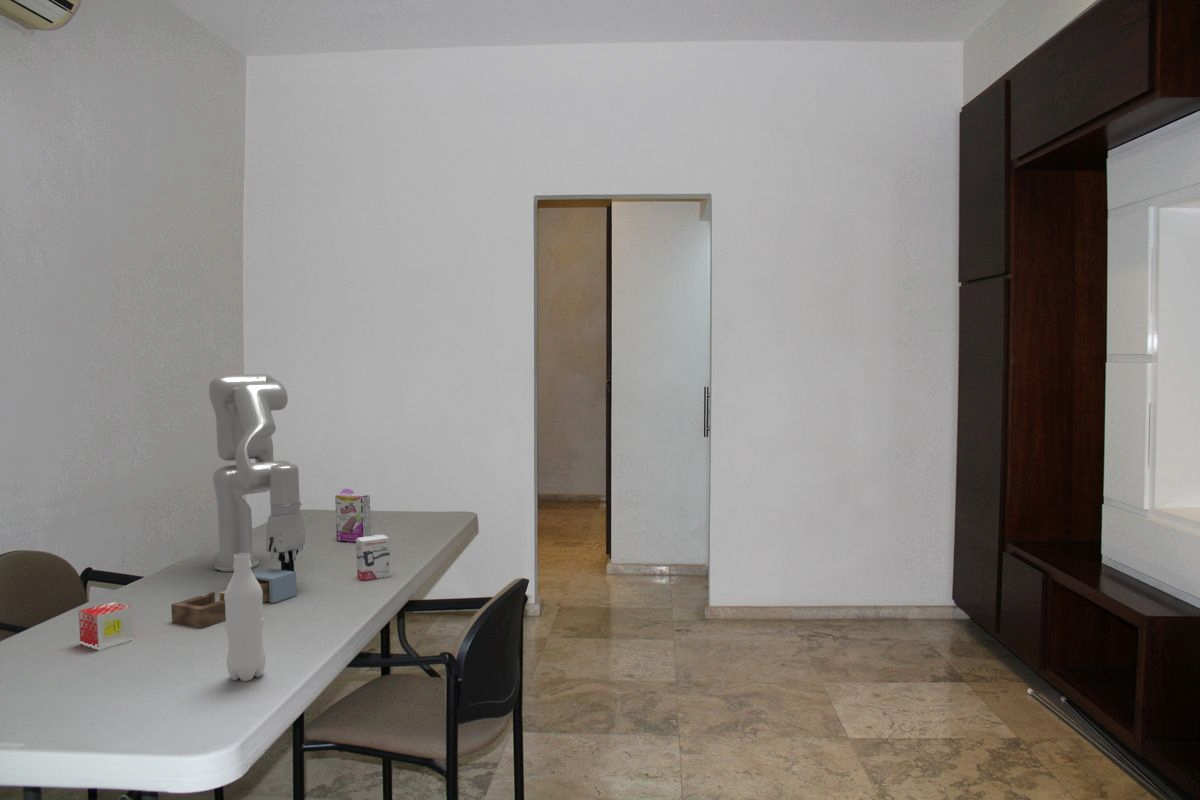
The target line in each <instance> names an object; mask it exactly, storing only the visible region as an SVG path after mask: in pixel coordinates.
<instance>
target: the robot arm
mask: <svg viewBox="0 0 1200 800" xmlns="http://www.w3.org/2000/svg"><path fill="white" fill-rule="evenodd" d="M208 395H209V400H210V403H211V405H212V408H213V411H214V415H215V422H216V423H215V424H216V429H215V430H216V442H217V443H216V445H217V448H216V449H217V453H218V456H219V458H220V459H221V460H223V461H226V462H227V461H228V462H230V461H235V464H231V465H229V464H228V465H225V466H222V467H219V468H218V469H216V470H215V471H214V472H213V476H212V482H213V487H214V488H213V489H214V492H215V498H216V505H217V523H218V524H217V525H218V545H219V546H218V547H219V550H218V552H217V553H215V554H213V558H214V559H217V561H218V562H217V563H216V564H215V565H214V570H215V569H217V570H220V571H219V572H234V568H233V565H234V564H233V563H234V555H235V554H239V553H249V554H250V561H251V564H252V566H251V569H253V568H256V567H258V566H259V565H260V561H259V559H257V558H254V545H253V544H254V538H253V515H252V509H251V506H250V504H249V503H248V502H247V501H246V500H245V499H244V498H243V496H247V495H255V494H260V493H262V494H263V493H267V492H269V499H270V500H269V501H270V515H269V516H268V517H267V523H266V531H265V533H266V534H265V547H266V548H265V549H266V551H267V552H268V553H269V557H270V558H272V559H277V560H278V562H280V570H286V571H293V572H295V561H297V560H296V559H297V555H298V554H299V553H300V552H302V551H304V545H305V543H306V532H305V524H304V519H303V514H302V512H301V507H302V502H301V501H300V477H299V475H300V474H299V472H300V471H299V467H298V465H296V464H294V463H291V462H289V461H288V460H274V444H273V443H274V442H273V437H272V435H273V434H275V432H276V429H277V426H276V423H275V420H274V417H273V414H272V411H282V410H284V409H285V408H286V407H287V405H288V401H289V400H288V398H289V397H288V392H287V390H286V388H285V386H284V385H283V384H282V383H281V381H279V380H278V379H276V378H275V377H272V376H271V375H269V374H267V373H252V374H251V373H248V374H242V373H241V374H239V373H238V374H223V375H218V376H215V377H214V378H213V379H211V381H210V382H209V387H208ZM251 460H254V462H251ZM217 570H216V571H217Z"/></svg>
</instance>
